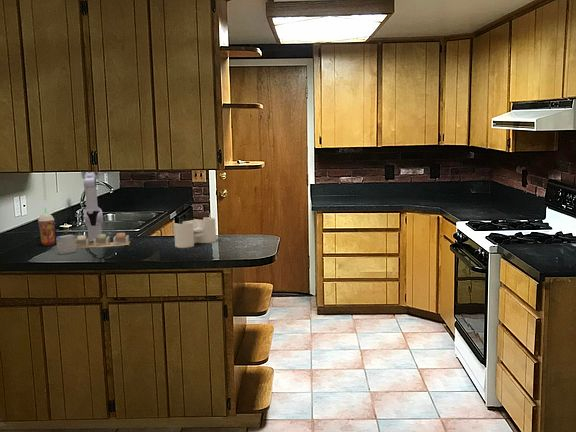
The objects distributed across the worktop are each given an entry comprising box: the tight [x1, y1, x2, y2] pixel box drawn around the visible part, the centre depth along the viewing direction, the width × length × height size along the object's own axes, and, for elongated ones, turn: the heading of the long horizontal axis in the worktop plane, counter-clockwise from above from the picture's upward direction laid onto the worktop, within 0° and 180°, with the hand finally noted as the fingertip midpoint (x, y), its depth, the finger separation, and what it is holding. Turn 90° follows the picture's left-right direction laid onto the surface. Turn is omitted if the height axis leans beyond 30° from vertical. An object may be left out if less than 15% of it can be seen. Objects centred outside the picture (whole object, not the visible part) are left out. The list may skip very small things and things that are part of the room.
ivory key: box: [76, 234, 87, 240], centre depth 323 cm, size 4×4×4 cm
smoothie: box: [37, 207, 56, 246], centre depth 333 cm, size 8×8×20 cm
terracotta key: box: [116, 232, 126, 238], centre depth 327 cm, size 4×4×4 cm
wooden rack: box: [75, 234, 131, 250], centre depth 325 cm, size 12×28×4 cm, turn 100°
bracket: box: [173, 217, 217, 249], centre depth 320 cm, size 25×10×12 cm, turn 143°
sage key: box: [97, 233, 107, 239], centre depth 325 cm, size 4×4×4 cm
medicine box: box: [55, 234, 77, 256], centre depth 307 cm, size 8×4×9 cm, turn 141°
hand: (93, 225), depth 326 cm, fingers closed
